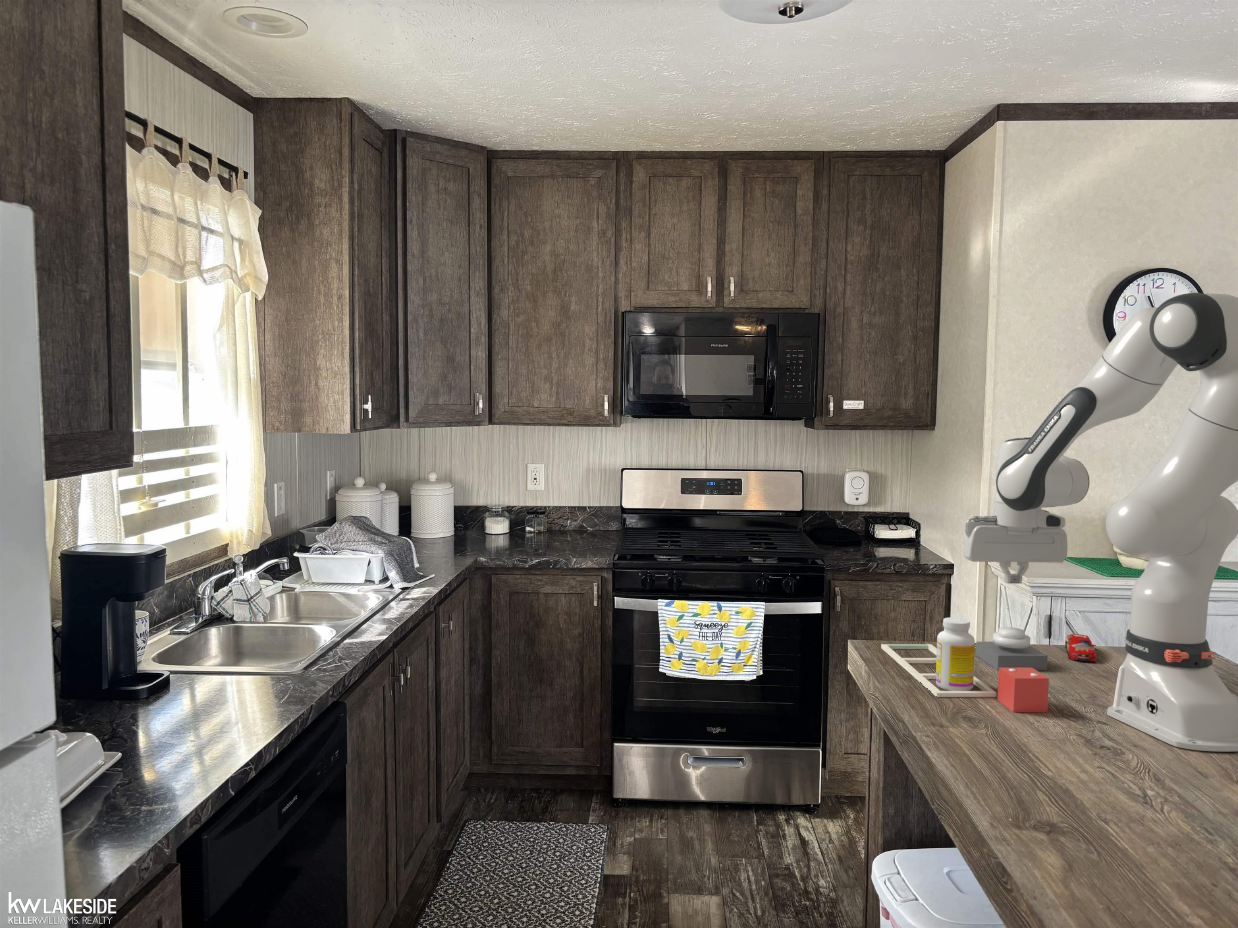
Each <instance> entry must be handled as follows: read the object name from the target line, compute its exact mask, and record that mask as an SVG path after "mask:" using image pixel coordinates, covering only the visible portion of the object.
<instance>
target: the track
mask: <svg viewBox="0 0 1238 928" xmlns="http://www.w3.org/2000/svg"><path fill="white" fill-rule="evenodd" d="M880 649H882V651H884V652H885V653H886V654H887V655H889V656H890V657H891V658H892V659H893V660H894V661H895V662H896V663H898V665H899V666H900V667H902V668H903V669H904V670H906V671H907V672H908V673H909V674H910V675H911V676H912V677H913V678H914V679H915V680H916V681H918V682H919V683H920V682H921V683H922V684H921V683H920V684H921V685H922V686H924V688H926V689H927V688H928V689H927V690H928V691H929V690H930V691H931V692H930V691H929V692H930V693H932V694H933V695H934V696H935V697H936V696H937V697H936V698H997V695H998V692H996V691H995V690H993V688H991V687H989V686H988V685H987V684H985V682H983V681H982V680H980V679H979V678H977V677H976V676H974V682H973V686H974V685H975V686H976V687H977V688H978V689H980V690H970V691H949V690H940V689H939V688H938V687H937V686H935V684H933V683H931V681H929V680H936V673H920V671H918V670H917V669H915V668H914V666H912V665H911V664H936V661H937V657H901V656H900V654H898V653H897V652H895V651H894V650H929V651H930V652H931V653H932V654H933V655H935V656H937V646H934V644H931V643H927V644H926V643H923V644H922V643H921V644H920V643H919V644H918V643H917V644H915V643H913V644H912V643H908V644H907V643H904V644H903V643H899V644H897V643H896V644H895V643H892V644H891V643H888V644H887V643H885V644H884V643H881V647H880Z"/></svg>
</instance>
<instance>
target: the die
mask: <svg viewBox="0 0 1238 928" xmlns="http://www.w3.org/2000/svg"><path fill="white" fill-rule="evenodd" d="M997 676H998V677H997V678H998V681H997V701H998V702H999V703H1001V704H1002V705H1004V706H1005V707H1006V708H1007V709H1008V710H1010V711H1011V712H1013V713H1048V707H1049V706H1048V705H1049V703H1048V702H1049V686H1050V685H1049V684H1050V682H1049V681H1050V678H1049V677H1047V676H1046V675H1044V674H1042V673H1041V672H1040V671H1039V670H1035V669H1033V668H999V670H998V675H997Z"/></svg>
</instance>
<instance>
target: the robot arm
mask: <svg viewBox="0 0 1238 928" xmlns="http://www.w3.org/2000/svg"><path fill="white" fill-rule="evenodd" d="M1178 365H1179V367H1181V368H1182V369H1184V370H1185V371H1186V372H1197V371H1198V373H1199V375H1200V383H1199V387H1198V389H1197V391H1196V393H1195V395H1194V398H1193V399H1192V401H1191V403H1190V405H1189V407H1188V409H1187V411H1186V412H1185V415H1184V417H1183V419H1182V421H1181V423H1180V425H1179V427H1178V428H1177V430H1176V433H1175V435H1174V437H1173V439H1172V441H1171V442H1170V444H1169V446H1168V448H1166V449H1167V450H1165V452H1164V453H1163V455H1162V456H1161V458H1160V459H1159V460H1158V461H1157V462H1156V464H1155V465H1153V466H1154V467H1152V469H1151V470H1150V471H1149V472H1148V473H1147V475H1145V477H1144V478H1143V479H1142V480H1141V481H1140V482H1139V484H1138V485H1136V487H1135V488H1134V489H1133V490H1132V491H1131V492H1130V493H1128V494H1127V495H1126V496H1125V497H1123V498H1122V499H1120V500H1119V501H1117V502H1116V503H1114V504H1113V506H1112V507H1110V509H1109V511H1108V512H1107V515H1106V518H1105V530H1106V534H1107V535H1106V536H1107V537H1108V539H1109V541H1110V542H1111V543H1112V545H1113V546H1114V548H1116V549H1117V550H1119V551H1120V552H1121V553H1124V554H1127V555H1130V556H1135V557H1140V558H1145V559H1149V560H1148V562H1147V565H1146V567H1145V569H1144V571H1143V572H1142V574H1141V575H1140V576H1139V577H1138V578H1137V580H1136V581H1135V582H1134V584H1133V586H1132V588H1131V596H1130V597H1131V598H1130V614H1129V628H1128V629H1127V630H1126V633H1125V634H1126V636H1125V637H1124V639H1125V640H1124V643H1125V648H1124V649H1125V651H1126V653H1127V654H1126V657H1125V659H1124V660H1123V662H1122V664H1121V665H1120V667H1119V669H1118V673H1117V679H1116V685H1115V692H1114V697H1113V698H1114V699H1113V704H1112V705H1110V706H1108V707H1107V708H1106V709H1107V710H1106V715H1108V716H1109V717H1111V718H1113V719H1116V720H1118V721H1120V722H1122V723H1124V724H1126V725H1128V726H1131V727H1133V728H1135V729H1136V730H1139V731H1141V732H1142V733H1145V734H1147V735H1149V736H1152V737H1154V738H1156V739H1157V740H1160V741H1162V742H1165V743H1166V744H1169V745H1172V746H1173V747H1175V748H1180V749H1187V750H1192V751H1193V750H1194V751H1202V752H1206V751H1207V752H1227V753H1228V752H1238V696H1237V694H1234V693H1232V692H1231V691H1230V690H1229V689H1228V687H1227V686H1226V685H1225V684H1224V682H1223V681H1222V679H1221V678H1220V676H1219V675H1218V674H1217V672H1215V670H1214V668H1213V666H1212V665H1213V662H1214V661H1213V660H1216V659H1217V657H1214V655H1217V652H1216V651H1212V650H1211V647H1210V646H1209V645H1210V644H1209V641H1208V639H1206V635H1207V621H1208V610H1209V600H1210V593H1211V590H1212V587H1213V583H1214V580H1215V577H1216V574H1217V571H1218V568H1219V565H1220V563H1221V561H1222V559H1223V556H1224V554H1225V552H1226V550H1227V548H1228V546H1229V545H1230V544H1231V543H1232V542H1233V541H1234V540H1235V539H1236V537H1237V536H1238V508H1237V507H1236V505H1235V504H1234V503H1233V501H1231V500H1230V499H1229V498H1227V497H1225V496H1223V495H1222V494H1224V492H1225V491H1226V490H1228V489H1229V488H1230V486H1232V485H1234V484H1235V483H1237V482H1238V297H1236V296H1234V295H1230V294H1227V293H1225V294H1224V293H1202V292H1188V293H1182V294H1178V295H1175V296H1173V297H1170V298H1168V299H1166V300H1165V301H1163V302H1162V303H1161V304H1160V305H1159V306H1158V307H1155V306H1154V307H1146V308H1143V309H1140V310H1139V311H1137V312H1136V313H1135V314H1134V315H1132V317H1130V318H1129V320H1128V321H1127V322H1126V323H1125V324H1124V325H1123V326H1122V327H1121V328H1120V330H1119V331H1118V332H1117V333H1116V335H1115V336H1114V337H1113V338H1112V340H1111V341H1110V342H1109V344H1108V345H1107V346H1106V348H1105V349H1104V351H1103V353H1102V354H1101V355H1100V357H1099V358H1098V360H1097V361H1096V362H1095V364H1094V365H1093V367H1092V368H1091V369H1090V370H1089V372H1087V374H1086V375H1085V376H1084V378H1082V380H1081V381H1079V383H1078V384H1077V385H1075V387H1074V388H1073V389H1071V390H1070V391H1069V392H1068V393H1067V394H1066V395H1065V396H1064V397H1063V398H1061V400H1060V401H1058V403H1057V404H1056V406H1055V407H1054V408H1053V409H1052V410H1051V412H1050V413H1049V414H1048V415H1047V417H1046V418H1045V419H1044V420H1043V421H1042V423H1041V424H1040V425H1039V427H1037V429H1036V430H1035V432H1034V433H1033V434H1032V435H1031V437H1029V436H1028V437H1018V438H1016V437H1015V438H1011V439H1007V440H1005V441H1003V442H1002V443H1001V444H1000V446H999V450H998V452H997V457H996V463H995V464H996V465H995V473H994V474H995V475H994V477H995V479H994V480H995V486H996V488H995V489H996V493H995V496H994V497H993V501H994V502H993V515H990V516H989V515H987V516H985V515H983V516H981V515H974V516H973V517H972V518H970V519H968V520H967V521H966V522H965V530H964V531H965V538H964V543H963V551H962V554H963V556H964V557H965V559H966V560H968V561H971V562H973V563H974V562H977V563H979V562H981V563H983V562H984V563H999V565H998V566H999V567H1000V569H1001V570H1002V574H1004V575H1003V581H1004V583H1005V584H1008V585H1009V584H1014V585H1015V584H1019V585H1020V584H1021V585H1022V583H1023V576H1024V575H1025V574H1026V572H1027V570H1028V569H1029V565H1030V563H1063V562H1065V560H1066V559H1067V558H1068V535H1067V532H1066V530H1064V529H1063V528H1065V526H1066V518H1065V517H1063V516H1061V515H1058V514H1055V513H1051V512H1050V511H1049V510H1045V509H1044V508H1056V507H1066V506H1071V505H1076V504H1078V503H1080V502H1081V501H1083V500H1084V498H1085V497H1086V496H1087V494H1088V492H1089V488H1090V483H1091V482H1090V475H1089V472H1088V470H1087V467H1086V466H1084V464H1083V463H1082V462H1081V461H1079V460H1077V459H1075V458H1071V457H1069V456H1066V455H1064V454H1065V453H1066V452H1067V451H1068V450H1069V448H1070V447H1071V446H1072V445H1073V443H1074V442H1075V441H1076V440H1077V439H1078V438H1080V436H1081V435H1083V434H1084V433H1086V432H1087V431H1089V430H1091V429H1093V428H1096V427H1098V426H1100V425H1103V424H1105V423H1109V422H1111V421H1115V420H1119V419H1123V418H1127V417H1129V416H1132V415H1135V414H1136V413H1138V412H1140V411H1142V409H1144V408H1145V407H1146V406H1147V405H1148V404H1149V403H1150V402H1151V401H1152V400H1153V399H1154V398H1155V397H1156V395H1157V394H1158V393H1159V391H1160V390H1161V389H1162V387H1163V386H1164V385H1165V383H1166V381H1167V380H1168V379H1169V377H1170V376H1171V374H1172V373H1173V371H1175V368H1176V367H1177V366H1178ZM1012 563H1016V565H1017V566H1018V568H1017V569H1016V571H1015V573H1012V572H1011V571H1010V570H1009V569H1010V568H1011V565H1012Z"/></svg>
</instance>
